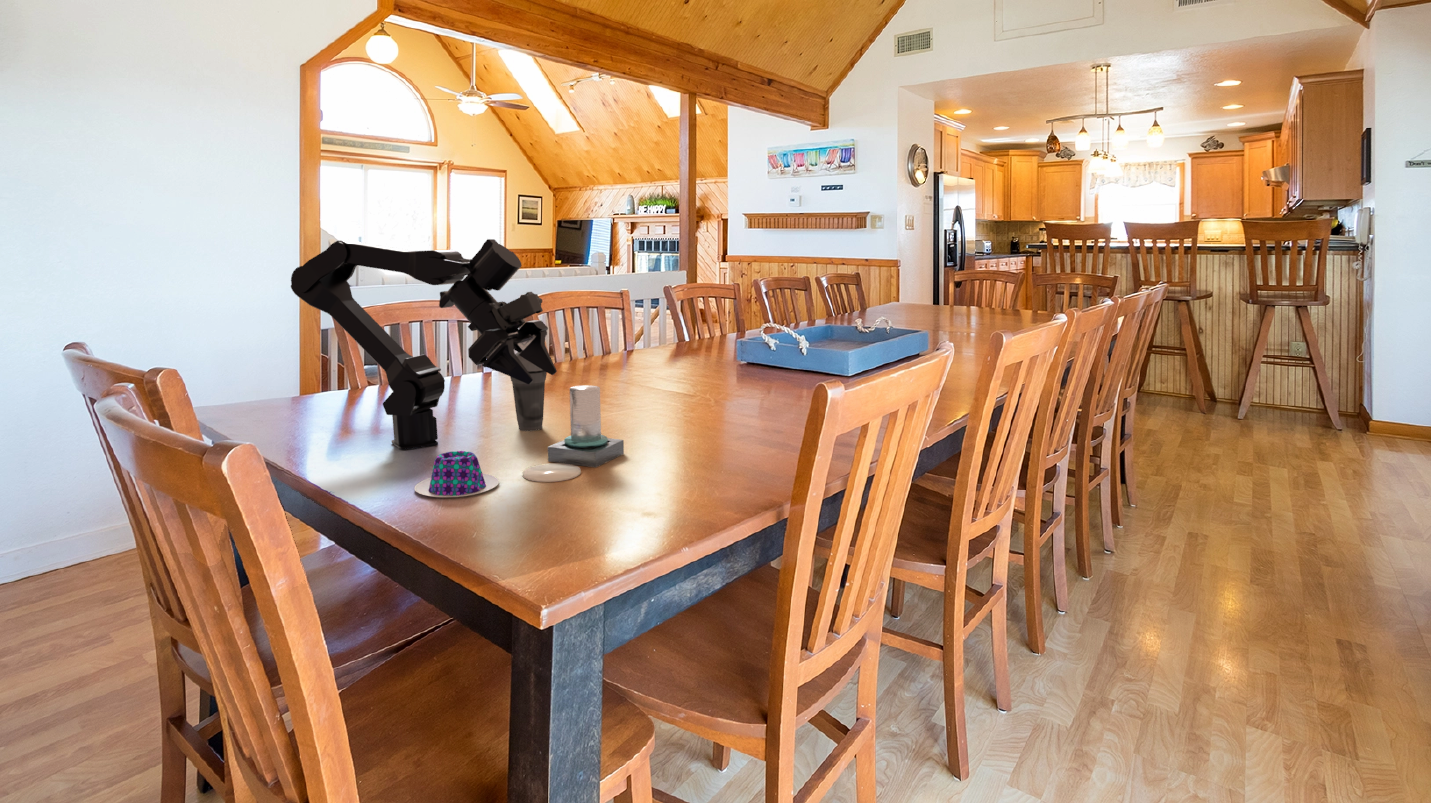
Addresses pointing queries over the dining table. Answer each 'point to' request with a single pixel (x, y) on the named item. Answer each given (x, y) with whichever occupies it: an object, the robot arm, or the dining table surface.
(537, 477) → the coaster
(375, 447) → the dining table surface
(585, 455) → the box
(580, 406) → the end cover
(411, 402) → the robot arm
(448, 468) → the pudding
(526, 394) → the beverage cup
